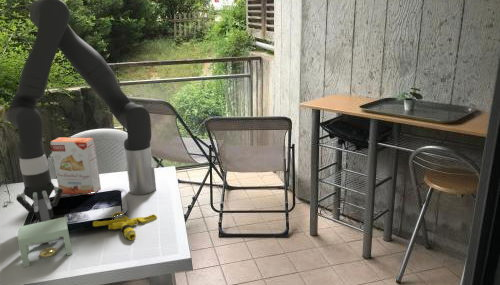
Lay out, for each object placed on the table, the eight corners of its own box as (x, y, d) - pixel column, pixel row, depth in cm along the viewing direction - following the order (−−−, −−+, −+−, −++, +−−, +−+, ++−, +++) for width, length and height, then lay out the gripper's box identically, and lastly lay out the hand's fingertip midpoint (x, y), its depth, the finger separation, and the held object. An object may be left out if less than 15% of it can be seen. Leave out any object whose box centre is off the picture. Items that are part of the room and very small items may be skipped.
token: (55, 248, 115) (55, 245, 115) (56, 255, 112) (55, 252, 112) (40, 252, 114) (39, 249, 113) (40, 259, 110) (39, 256, 110)
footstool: (69, 240, 119) (65, 216, 116) (72, 254, 112) (67, 228, 109) (24, 252, 113) (18, 227, 111) (23, 266, 107) (17, 240, 104)
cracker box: (58, 194, 151) (49, 141, 145) (67, 187, 157) (58, 136, 150) (94, 195, 149) (85, 141, 143) (101, 188, 155) (94, 136, 149)
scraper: (56, 218, 132) (51, 193, 130) (58, 239, 119) (53, 211, 116) (36, 223, 130) (30, 197, 127) (35, 244, 116) (30, 216, 114)
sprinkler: (103, 235, 112) (90, 214, 124) (103, 248, 113) (90, 226, 125) (168, 223, 124) (150, 205, 135) (167, 235, 125) (149, 216, 136)
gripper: (59, 161, 129) (67, 210, 135) (10, 169, 124) (21, 220, 129) (60, 169, 123) (69, 219, 128) (8, 177, 117) (20, 230, 122)
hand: (45, 219), depth 129 cm, fingers closed on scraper
